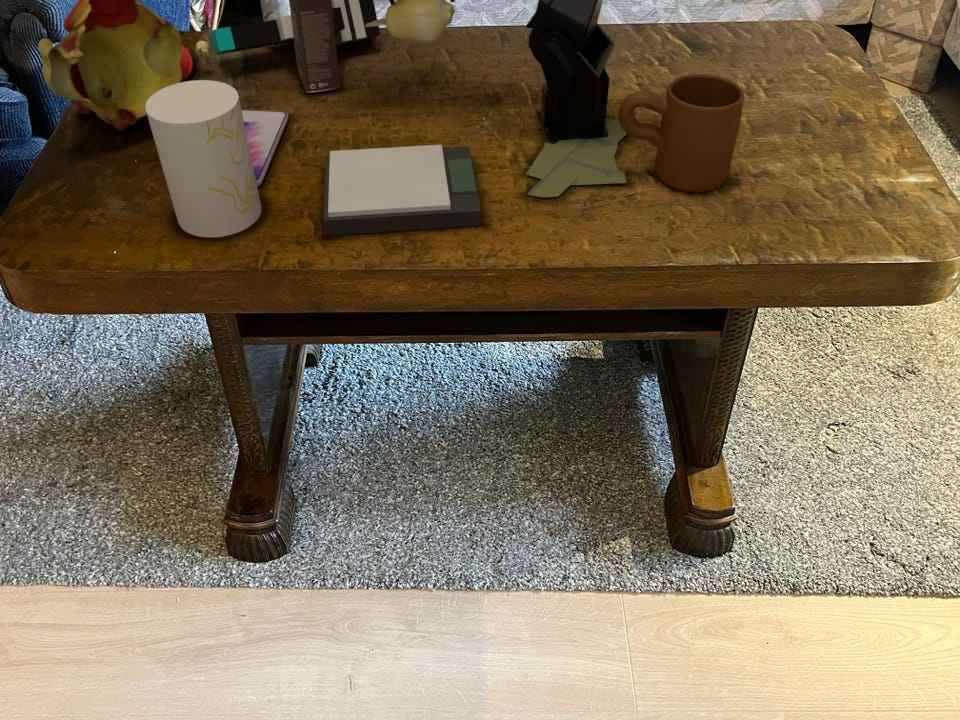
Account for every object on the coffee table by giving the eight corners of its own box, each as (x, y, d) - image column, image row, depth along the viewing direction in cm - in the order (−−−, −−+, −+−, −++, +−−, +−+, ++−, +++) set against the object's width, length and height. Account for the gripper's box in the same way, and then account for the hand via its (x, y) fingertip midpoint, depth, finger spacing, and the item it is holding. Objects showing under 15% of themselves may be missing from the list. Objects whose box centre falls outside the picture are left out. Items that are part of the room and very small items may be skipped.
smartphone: (289, 110, 101) (259, 182, 90) (290, 117, 102) (260, 189, 91) (226, 108, 101) (188, 179, 90) (227, 115, 102) (190, 186, 91)
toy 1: (221, 65, 103) (132, 14, 105) (174, -14, 89) (72, -72, 90) (146, 168, 101) (56, 113, 103) (85, 104, 86) (-18, 42, 88)
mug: (613, 193, 90) (623, 108, 84) (609, 154, 96) (618, 71, 89) (733, 195, 90) (752, 110, 83) (721, 156, 95) (739, 73, 89)
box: (343, 88, 106) (331, -13, 98) (305, 94, 105) (290, -8, 97) (333, 67, 110) (321, -33, 102) (297, 72, 109) (281, -28, 101)
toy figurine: (151, 85, 110) (141, 85, 103) (143, 47, 109) (132, 45, 102) (216, 78, 112) (211, 78, 104) (210, 41, 110) (204, 38, 103)
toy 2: (205, 25, 111) (356, 1, 117) (215, 66, 113) (365, 40, 119) (213, 15, 102) (377, -11, 108) (225, 60, 104) (385, 32, 110)
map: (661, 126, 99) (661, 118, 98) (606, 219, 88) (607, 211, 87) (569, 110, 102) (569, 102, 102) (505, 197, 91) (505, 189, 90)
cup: (242, 241, 84) (216, 127, 76) (163, 232, 86) (128, 118, 77) (273, 195, 90) (252, 84, 82) (198, 186, 91) (170, 76, 83)
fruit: (369, 24, 101) (456, 15, 101) (368, 61, 98) (458, 51, 98) (358, -20, 96) (450, -30, 96) (357, 17, 93) (452, 7, 92)
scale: (469, 160, 95) (469, 140, 93) (481, 225, 86) (481, 204, 84) (327, 169, 94) (325, 149, 92) (325, 235, 85) (322, 214, 83)
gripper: (502, -185, 91) (501, -29, 102) (320, -179, 90) (338, -23, 101) (513, -156, 83) (511, 9, 94) (313, -149, 82) (334, 17, 93)
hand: (422, 2), depth 96 cm, fingers closed on fruit, 6 cm apart
